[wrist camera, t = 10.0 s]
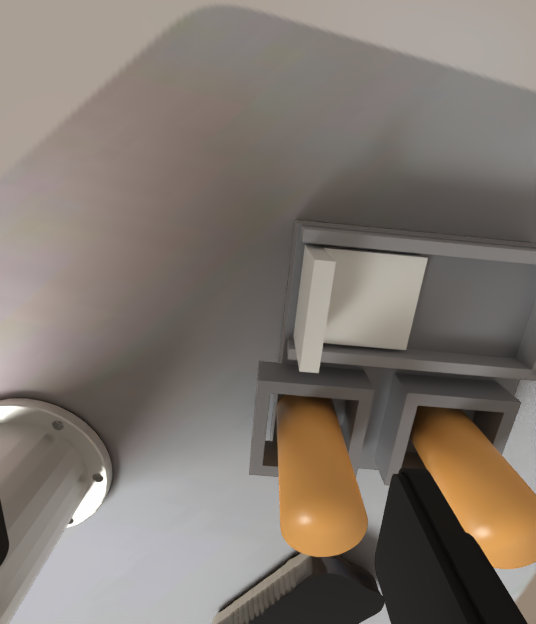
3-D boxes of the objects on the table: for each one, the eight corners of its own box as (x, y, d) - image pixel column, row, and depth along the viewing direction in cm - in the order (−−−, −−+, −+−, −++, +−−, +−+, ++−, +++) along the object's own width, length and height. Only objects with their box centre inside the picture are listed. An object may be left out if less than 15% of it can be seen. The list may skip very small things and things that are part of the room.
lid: (293, 336, 23) (299, 371, 19) (304, 244, 21) (314, 259, 17) (402, 345, 23) (433, 382, 19) (422, 255, 21) (463, 273, 17)
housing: (251, 433, 29) (240, 588, 18) (272, 217, 24) (275, 244, 13) (464, 450, 30) (583, 611, 19) (531, 242, 24) (760, 291, 13)
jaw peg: (398, 441, 26) (461, 565, 18) (411, 393, 25) (485, 501, 16) (453, 446, 26) (542, 571, 18) (469, 398, 25) (572, 508, 16)
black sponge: (321, 524, 33) (327, 564, 30) (382, 571, 35) (394, 613, 31) (203, 611, 37) (196, 655, 33) (263, 649, 39) (262, 694, 35)
